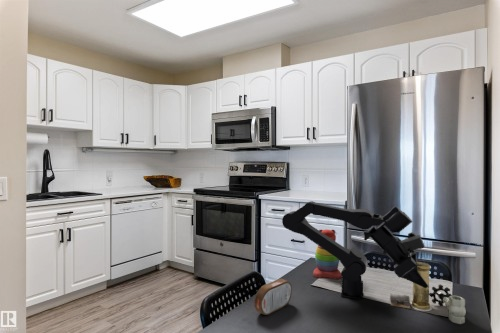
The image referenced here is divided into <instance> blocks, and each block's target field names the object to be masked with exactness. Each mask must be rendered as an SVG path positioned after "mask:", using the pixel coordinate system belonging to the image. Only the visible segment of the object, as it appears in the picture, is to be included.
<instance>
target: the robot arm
mask: <svg viewBox="0 0 500 333" xmlns="http://www.w3.org/2000/svg"><path fill="white" fill-rule="evenodd" d="M310 215H316V216H320V217H325V218H330V219H333V220H339V221H343V222H346V223H348V224H349V225H351V226H353V227H356V228H358V229H360V230H363V236H364V238H363V240H364V241H365V242H366V241H367V240H369V239H371V240H372V241H373V242H374V243H376V245H378V247H379V248H380V249H381V250H382V253H383V254H384V255H387V256H388V257H389V258H390V259H391V261H392V264H394V274H395V275H396V276H397V277H398V278H402V279H404V280H407V281H409V282H411V283H412V284H413V283H415V284H418V285H420V286H422V287H424V288H427V287H428V285H427V283H426V282H425V280H424V279H423V278H422V276H421V275H420V273H419V272H418V271H417V263H416V262H418V260H417V253H416V250H419V249H420V250H421V249H424V248H425V243H424V241H423V239H422V238H421V236H420V234H415V233H414V232H413V231H412V232H409V233H407V237H406V238H405V239H401V238H400V237H396V236H395V235H394V234H393V233H397V234H399V233H401V232H402V231H403V230H404V229H405V228H407V227H409V225H410V224H411V223H413V220H412V219H411V218H410V216H409V215H408V214H407V213H406V212H404V211H403V210H401V209H400V208H399V207H398V206H396V205H395V206H393V207H391V210H390V211H388V212H387V213H386V214H384V215H381V214H379V213H378V214H376V213H373V211H371V210H369V209H364V208H360V209H359V208H348V209H347V208H342V207H338V206H332V205H328V204H324V203H319V202H316V201H312V200H311V201H308V202H306V203H305V204H304V205H303V206H302V207H300V208H299V209H297V210H294V211H293V210H292V211H290V212H288V213H286V214H285V215H283V217H282V218H281V223H282V226H283V227H284V229H286V230H288V231H290V232H293V233H295V234H298V235H299V234H300V235H302V236H304V237H306V238H307V239H308V240H310V241H311V242H313V243H314V244H316V245H317V246H318V245H319V246H320V247H321V248H323V249H324V250H326V251H327V252H329V253H330V254H332V255H333V256H335V257H336V258H337V259H338V260H339V263H340V264H341V265H342V267H343V269H342V270H341V271H340V272H341V276H342V277H341V291H340V297H344V298H350V299H357V300H362V296H364V281H363V279H362V276H363V275H364V274H365V273H366V272H367V271H366V270H367V267H368V262H369V261H368V259H367V257H366V256H365V255H364V252H363V251H360V250H358V249H357V248H356V247H355V246H351V249H350V248H347V247H344V246H343V245H341V243H338V242H337V241H336V240H335V241H334V240H332V239H331V238H329V237H328V236H326V235H325V234H323V233H322V232H320V231H319V230H320V229H319V230H318V229H317V228H316V227H315V226H312V225H311V224H310V222H308V220H307V219H306V217H308V216H310Z"/></svg>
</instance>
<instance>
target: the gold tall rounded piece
mask: <svg viewBox="0 0 500 333" xmlns="http://www.w3.org/2000/svg"><path fill="white" fill-rule="evenodd" d="M416 263H417V271H418V272H419V273H420V275H421V276H422V278H423V279H424V280H425V282H426V283H427V285H428V287H427V288H424V287H422V286H420V285H418V284H415V283H413V282H412V300H411V302H412V306H413V307H415V308H418V309H422V310H428V309H430V306H431V304H430V296H429V293H430V270H431V265H430V264H429V263H427V262H421V261H417V262H416Z"/></svg>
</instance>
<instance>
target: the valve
mask: <svg viewBox="0 0 500 333" xmlns="http://www.w3.org/2000/svg"><path fill="white" fill-rule="evenodd" d="M437 287H438V288H437ZM437 287H436V286H432V287H431V290H432V291H433V292H429V298H432V299H431V302H432V303H433V304H434V305H435V304H437V303H438V305H439V306H440V307H443V306H445V307H446V309H447V311H448V320H449V321H450V322H452V323H455V324H458V325H463V324H465V323H466V312H467V310H466V307H465V306H466V299H465V298H464V297H461V296H458V295H452V293H450V292H451V289H450V288H449V287H447V286H446V287H445V288H444V285H442V284H438V286H437ZM439 291H442V292H439ZM443 292H444V293H443ZM436 295H437V297H436Z"/></svg>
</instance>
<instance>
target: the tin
mask: <svg viewBox="0 0 500 333" xmlns="http://www.w3.org/2000/svg"><path fill="white" fill-rule="evenodd" d="M292 292H293V286H292V283H291V282H290V281H288V280H287V279H284V278H278V279H275V280H273V281H271V282H268V283H265V284H263V285H262V286H261V287H260V288H259V289H258V290H257V292H256V294H255V297H254V302H253V304H254V309H255V311H256V312H257V313H260V314H261V315H263V316H268V315H271V314H273V313H275V312H276V311H278V310H280V309H282V308H285V307H286V306H287V305H288V304H289V302H290V300H291V298H292V294H293V293H292Z"/></svg>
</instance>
